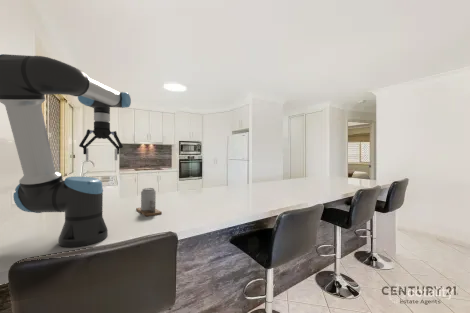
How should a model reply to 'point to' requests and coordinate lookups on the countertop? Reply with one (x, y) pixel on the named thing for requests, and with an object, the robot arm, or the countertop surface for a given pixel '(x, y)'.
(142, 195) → the can
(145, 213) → the peg cradle
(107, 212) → the countertop surface
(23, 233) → the countertop surface
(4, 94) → the robot arm
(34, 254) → the countertop surface
